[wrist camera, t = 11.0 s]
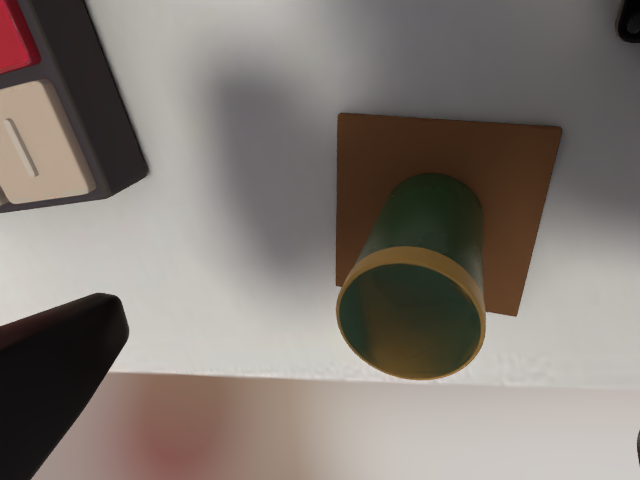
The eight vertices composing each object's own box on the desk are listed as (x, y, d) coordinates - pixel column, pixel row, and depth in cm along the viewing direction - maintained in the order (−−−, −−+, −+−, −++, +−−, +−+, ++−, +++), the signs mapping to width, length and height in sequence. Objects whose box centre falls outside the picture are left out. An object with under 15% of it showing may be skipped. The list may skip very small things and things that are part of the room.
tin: (493, 176, 17) (498, 272, 11) (476, 270, 19) (472, 394, 13) (384, 166, 18) (336, 249, 12) (378, 255, 20) (334, 364, 14)
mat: (561, 126, 16) (563, 129, 15) (516, 311, 20) (516, 317, 19) (339, 112, 18) (337, 114, 18) (337, 281, 22) (335, 286, 21)
